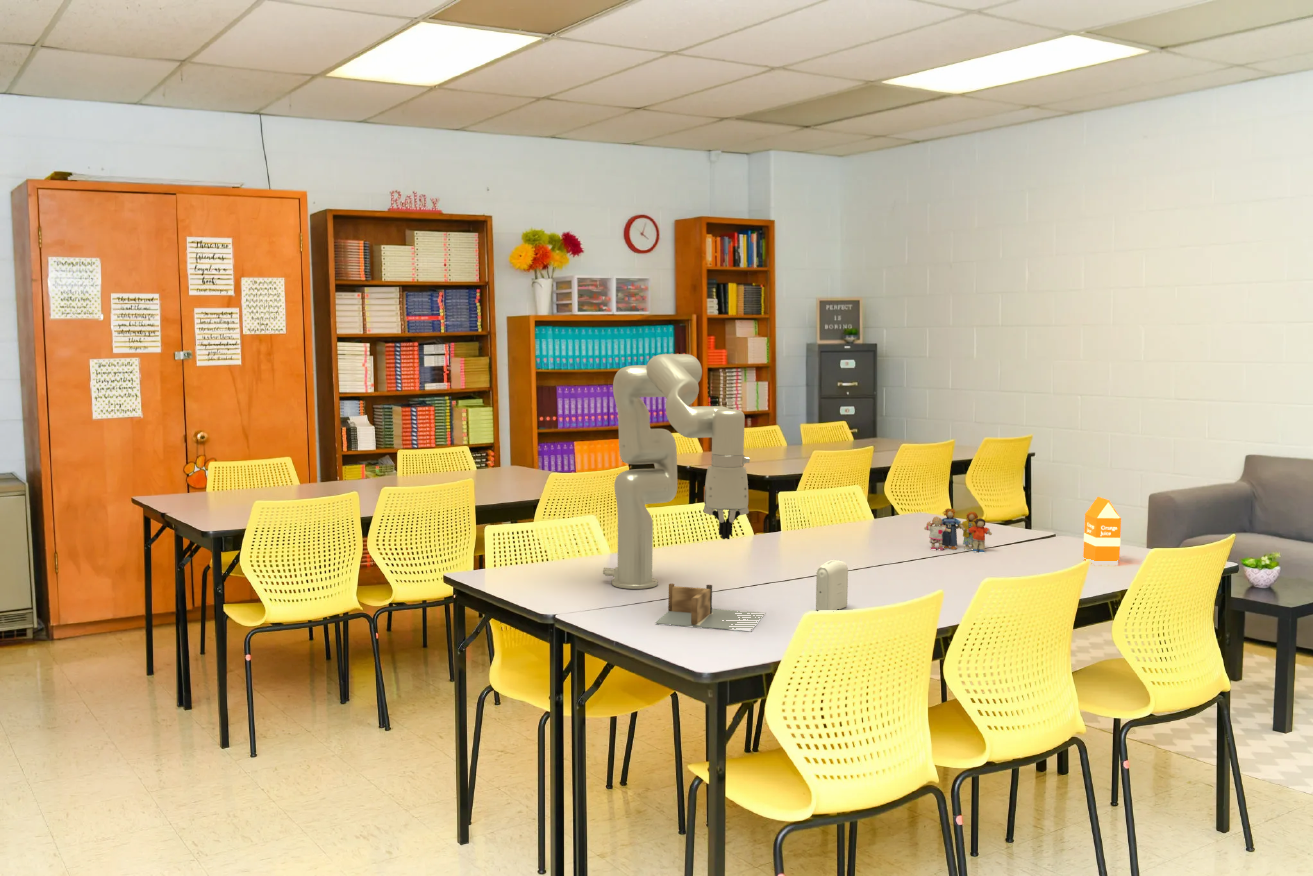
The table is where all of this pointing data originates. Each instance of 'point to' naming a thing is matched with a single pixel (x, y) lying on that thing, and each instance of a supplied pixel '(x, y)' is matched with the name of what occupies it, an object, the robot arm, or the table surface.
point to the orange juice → (1102, 532)
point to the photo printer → (832, 585)
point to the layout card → (709, 619)
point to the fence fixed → (684, 597)
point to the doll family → (948, 534)
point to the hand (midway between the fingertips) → (725, 538)
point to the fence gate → (700, 606)
